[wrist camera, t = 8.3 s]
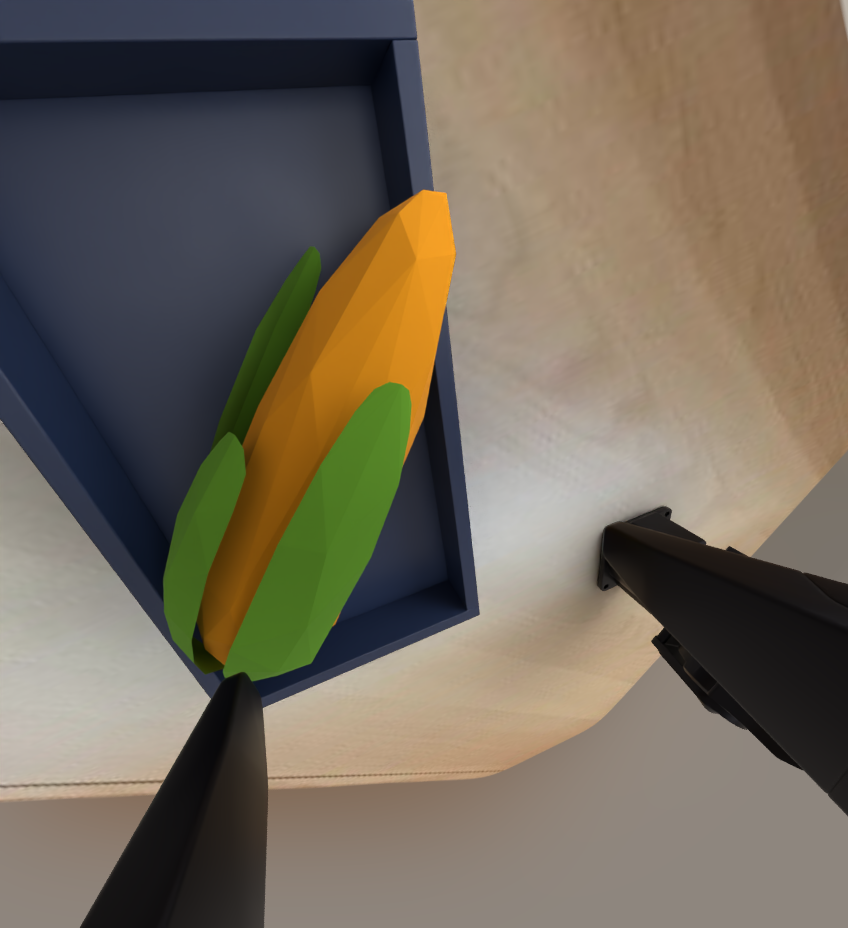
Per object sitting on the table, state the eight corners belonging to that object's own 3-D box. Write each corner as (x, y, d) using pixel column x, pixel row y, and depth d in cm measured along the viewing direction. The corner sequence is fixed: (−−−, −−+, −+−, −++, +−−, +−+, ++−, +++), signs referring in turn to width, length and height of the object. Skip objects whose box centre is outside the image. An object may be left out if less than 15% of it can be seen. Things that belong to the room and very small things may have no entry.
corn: (96, 769, 11) (339, -14, 6) (154, 591, 17) (297, 131, 12) (327, 739, 15) (598, 242, 10) (306, 601, 21) (465, 253, 16)
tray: (456, 577, 25) (480, 615, 22) (234, 665, 22) (228, 723, 19) (383, 62, 13) (413, -3, 10) (-148, 75, 10) (-331, -17, 7)
